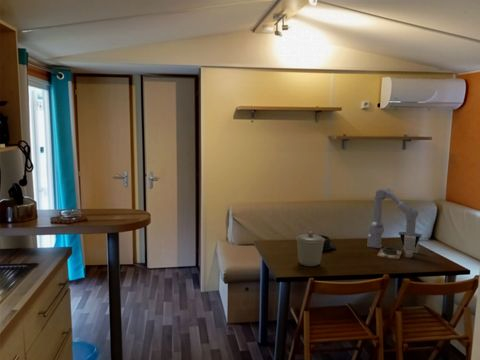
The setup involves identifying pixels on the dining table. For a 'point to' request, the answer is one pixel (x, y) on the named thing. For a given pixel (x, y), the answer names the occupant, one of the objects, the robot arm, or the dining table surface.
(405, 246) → the photo printer
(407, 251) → the white round cylinder
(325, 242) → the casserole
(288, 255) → the dining table surface
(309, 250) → the canister
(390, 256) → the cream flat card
